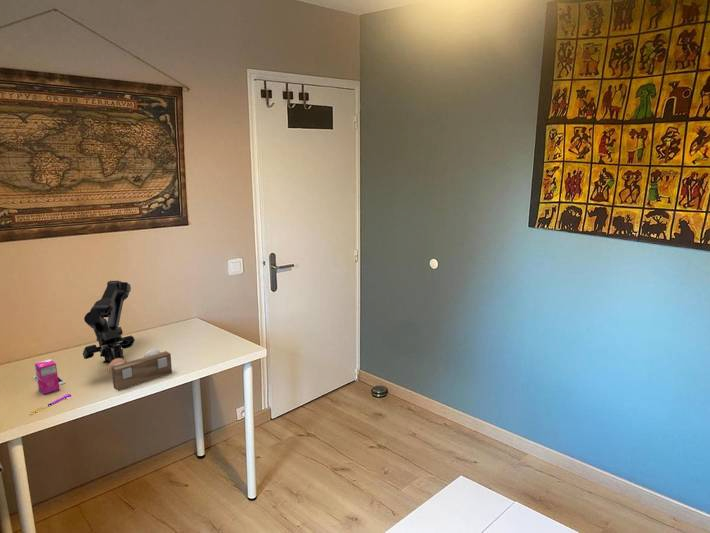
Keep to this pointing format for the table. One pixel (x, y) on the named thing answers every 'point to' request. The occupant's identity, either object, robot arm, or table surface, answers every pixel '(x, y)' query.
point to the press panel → (141, 371)
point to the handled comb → (55, 401)
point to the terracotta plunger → (125, 372)
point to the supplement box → (47, 376)
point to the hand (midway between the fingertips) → (116, 365)
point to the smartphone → (58, 380)
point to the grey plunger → (160, 362)
